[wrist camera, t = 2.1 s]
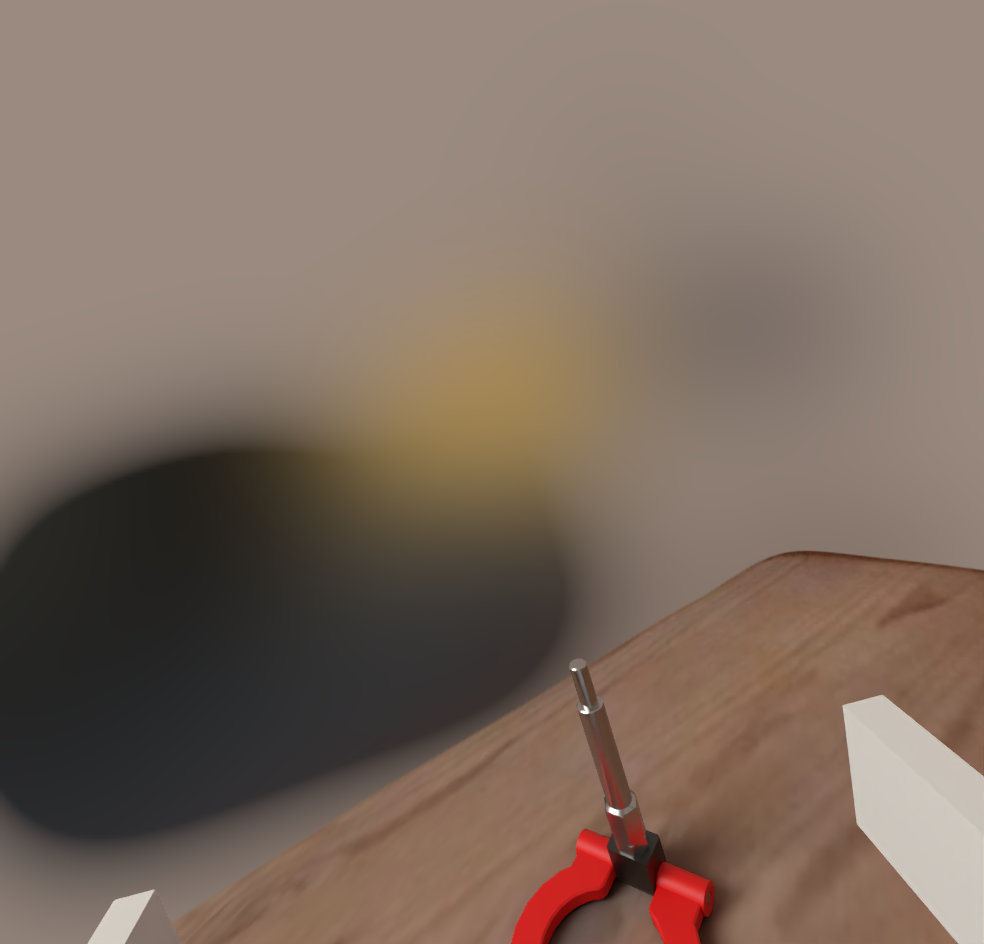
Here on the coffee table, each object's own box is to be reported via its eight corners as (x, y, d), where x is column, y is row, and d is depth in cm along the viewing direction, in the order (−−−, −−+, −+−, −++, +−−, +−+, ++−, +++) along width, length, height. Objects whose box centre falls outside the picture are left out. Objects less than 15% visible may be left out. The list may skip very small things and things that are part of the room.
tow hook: (666, 1171, 18) (739, 904, 25) (564, 892, 15) (680, 668, 21) (478, 1022, 24) (578, 835, 30) (370, 792, 20) (511, 638, 27)
